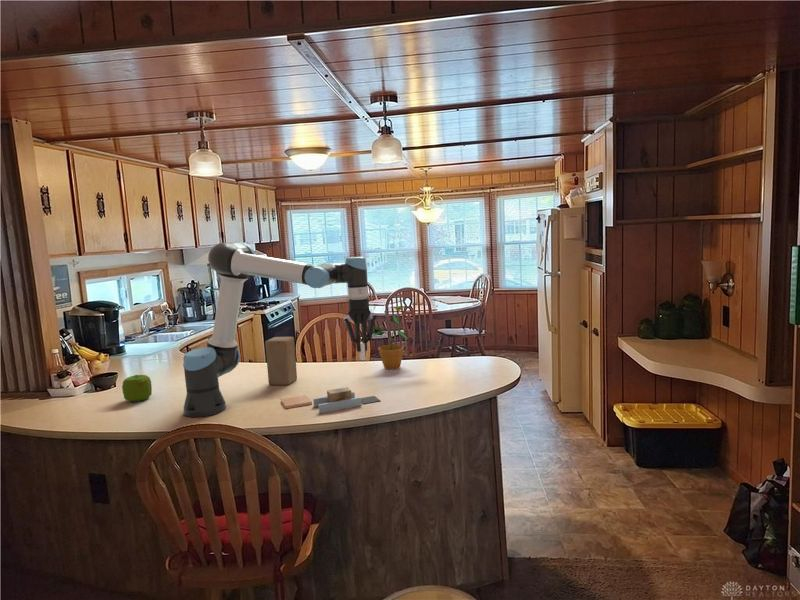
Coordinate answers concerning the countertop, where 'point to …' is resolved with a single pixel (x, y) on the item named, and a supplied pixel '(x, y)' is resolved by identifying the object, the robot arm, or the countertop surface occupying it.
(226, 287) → the robot arm
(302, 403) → the tile
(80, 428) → the countertop surface
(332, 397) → the block
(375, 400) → the trap mat
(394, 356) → the potted plant
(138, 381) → the green rounded cube
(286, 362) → the wooden block
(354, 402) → the channel
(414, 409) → the countertop surface
